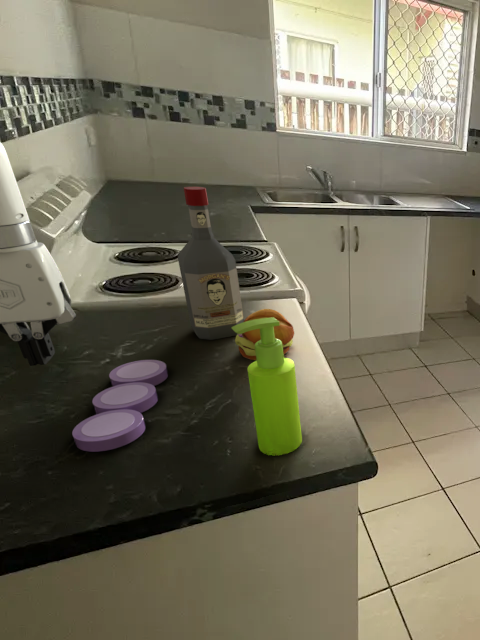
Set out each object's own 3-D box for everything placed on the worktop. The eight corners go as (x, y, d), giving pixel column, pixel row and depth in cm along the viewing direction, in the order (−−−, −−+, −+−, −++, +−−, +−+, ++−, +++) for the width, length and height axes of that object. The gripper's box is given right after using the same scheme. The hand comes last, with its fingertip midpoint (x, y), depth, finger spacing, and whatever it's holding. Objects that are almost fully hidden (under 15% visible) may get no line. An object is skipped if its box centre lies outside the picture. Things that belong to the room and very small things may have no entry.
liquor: (190, 327, 103) (161, 184, 91) (236, 319, 109) (215, 184, 97) (199, 342, 97) (170, 192, 85) (248, 333, 103) (227, 191, 91)
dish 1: (66, 456, 64) (62, 445, 63) (86, 423, 71) (83, 413, 70) (138, 446, 67) (135, 435, 67) (151, 415, 74) (148, 405, 73)
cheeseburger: (271, 335, 103) (274, 296, 98) (304, 360, 99) (308, 321, 94) (225, 350, 95) (226, 307, 90) (259, 378, 91) (261, 335, 86)
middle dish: (87, 422, 71) (84, 411, 70) (104, 394, 78) (101, 385, 77) (151, 414, 74) (149, 404, 74) (162, 388, 81) (160, 379, 80)
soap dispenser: (245, 443, 70) (225, 318, 62) (292, 427, 75) (279, 309, 66) (260, 464, 66) (240, 334, 58) (308, 445, 71) (297, 323, 63)
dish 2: (105, 393, 78) (102, 383, 77) (119, 371, 85) (116, 361, 84) (163, 387, 81) (160, 378, 80) (172, 366, 88) (170, 357, 87)
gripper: (-106, 244, 55) (-42, 380, 63) (56, 241, 61) (97, 366, 69) (-67, 230, 62) (-13, 355, 69) (77, 229, 67) (113, 344, 75)
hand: (42, 360), depth 69 cm, fingers closed
